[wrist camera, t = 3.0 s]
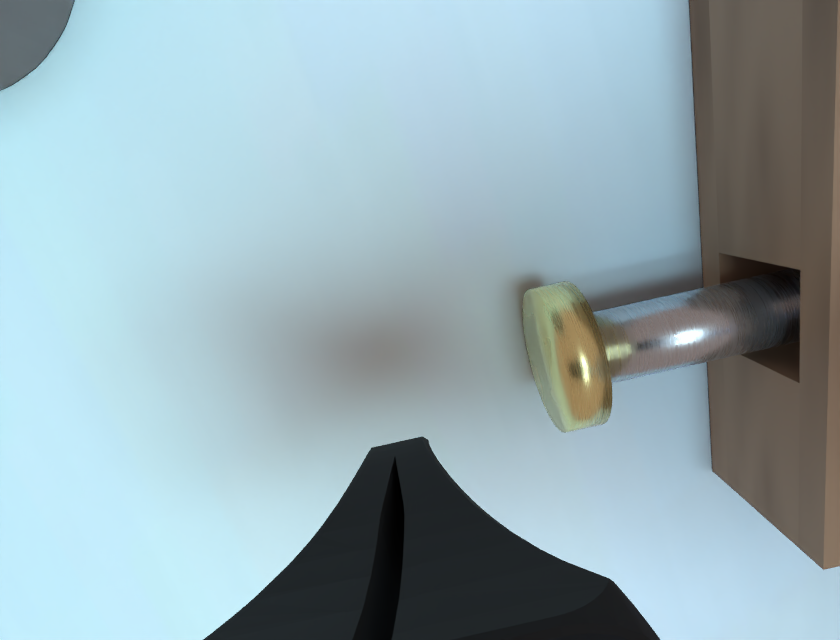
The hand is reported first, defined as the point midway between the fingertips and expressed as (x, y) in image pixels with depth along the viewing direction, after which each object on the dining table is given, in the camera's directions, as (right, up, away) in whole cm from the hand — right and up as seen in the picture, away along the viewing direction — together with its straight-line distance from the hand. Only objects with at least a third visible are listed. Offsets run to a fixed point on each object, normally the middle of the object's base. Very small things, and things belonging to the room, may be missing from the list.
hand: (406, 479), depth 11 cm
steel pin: (+9, +4, +7) cm, 12 cm away
